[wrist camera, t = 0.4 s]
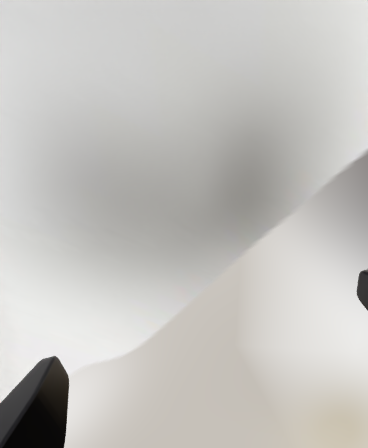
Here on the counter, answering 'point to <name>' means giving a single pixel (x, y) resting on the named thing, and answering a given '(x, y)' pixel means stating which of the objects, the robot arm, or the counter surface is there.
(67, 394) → the robot arm
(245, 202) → the counter surface
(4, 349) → the counter surface
